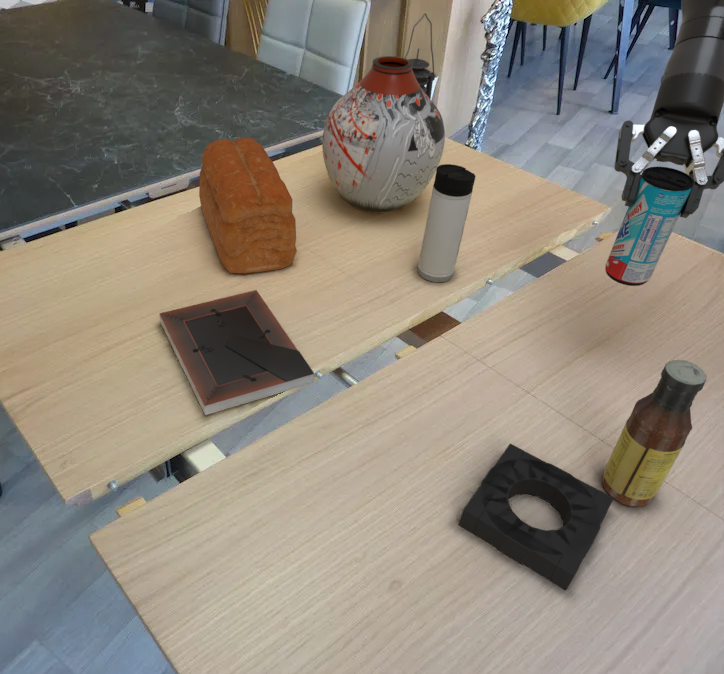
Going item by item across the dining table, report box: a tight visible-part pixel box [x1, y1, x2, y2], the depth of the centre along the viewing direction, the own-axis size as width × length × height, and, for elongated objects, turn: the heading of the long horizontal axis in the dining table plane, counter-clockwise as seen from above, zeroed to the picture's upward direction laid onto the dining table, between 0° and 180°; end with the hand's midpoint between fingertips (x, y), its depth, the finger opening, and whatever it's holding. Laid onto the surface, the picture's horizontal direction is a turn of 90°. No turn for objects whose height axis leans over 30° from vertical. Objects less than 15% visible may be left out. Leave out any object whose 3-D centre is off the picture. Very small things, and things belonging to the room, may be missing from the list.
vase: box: [321, 55, 446, 214], centre depth 128 cm, size 23×23×28 cm
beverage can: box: [604, 166, 694, 287], centre depth 88 cm, size 6×6×15 cm
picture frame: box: [158, 289, 315, 416], centre depth 100 cm, size 16×2×22 cm
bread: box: [198, 137, 298, 275], centre depth 122 cm, size 14×27×15 cm, turn 15°
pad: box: [458, 443, 615, 591], centre depth 79 cm, size 13×13×3 cm
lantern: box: [404, 13, 436, 100], centre depth 146 cm, size 12×11×30 cm
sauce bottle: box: [602, 359, 707, 508], centre depth 77 cm, size 6×6×20 cm
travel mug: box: [417, 163, 476, 283], centre depth 112 cm, size 6×7×20 cm
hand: (656, 209), depth 84 cm, fingers closed on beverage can, 6 cm apart
